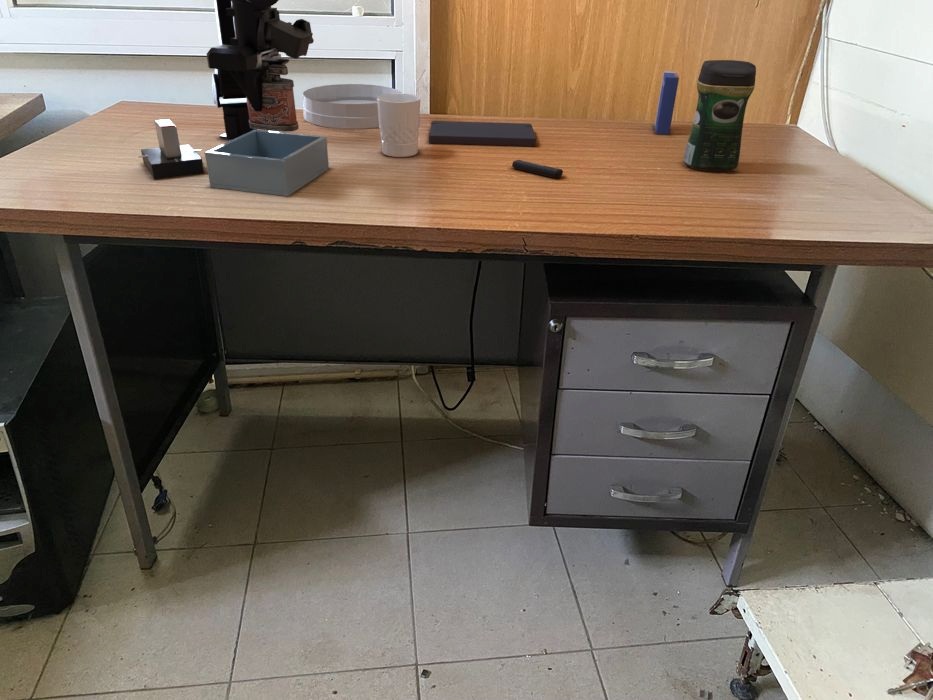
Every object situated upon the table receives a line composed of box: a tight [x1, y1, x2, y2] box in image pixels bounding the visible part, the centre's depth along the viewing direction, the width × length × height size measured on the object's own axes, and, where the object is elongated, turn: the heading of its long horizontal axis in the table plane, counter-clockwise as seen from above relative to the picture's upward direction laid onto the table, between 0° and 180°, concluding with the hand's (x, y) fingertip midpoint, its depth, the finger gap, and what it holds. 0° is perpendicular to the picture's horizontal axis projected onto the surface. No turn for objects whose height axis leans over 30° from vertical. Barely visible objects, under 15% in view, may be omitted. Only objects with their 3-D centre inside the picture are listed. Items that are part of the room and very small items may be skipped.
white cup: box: [377, 92, 421, 158], centre depth 130 cm, size 8×8×10 cm
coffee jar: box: [683, 59, 757, 172], centre depth 126 cm, size 10×8×19 cm
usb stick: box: [511, 159, 564, 179], centre depth 124 cm, size 10×3×2 cm, turn 54°
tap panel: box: [138, 143, 205, 180], centre depth 119 cm, size 10×10×3 cm
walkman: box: [654, 70, 680, 136], centre depth 151 cm, size 8×3×12 cm, turn 169°
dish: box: [302, 83, 403, 130], centre depth 155 cm, size 22×22×5 cm
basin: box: [204, 129, 330, 197], centre depth 116 cm, size 16×14×6 cm
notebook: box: [428, 120, 537, 147], centre depth 144 cm, size 13×2×21 cm
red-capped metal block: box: [154, 118, 182, 159], centre depth 117 cm, size 6×2×5 cm, turn 31°
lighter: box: [246, 62, 299, 132], centre depth 111 cm, size 8×3×10 cm, turn 83°
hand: (263, 109), depth 112 cm, fingers closed on lighter, 3 cm apart
